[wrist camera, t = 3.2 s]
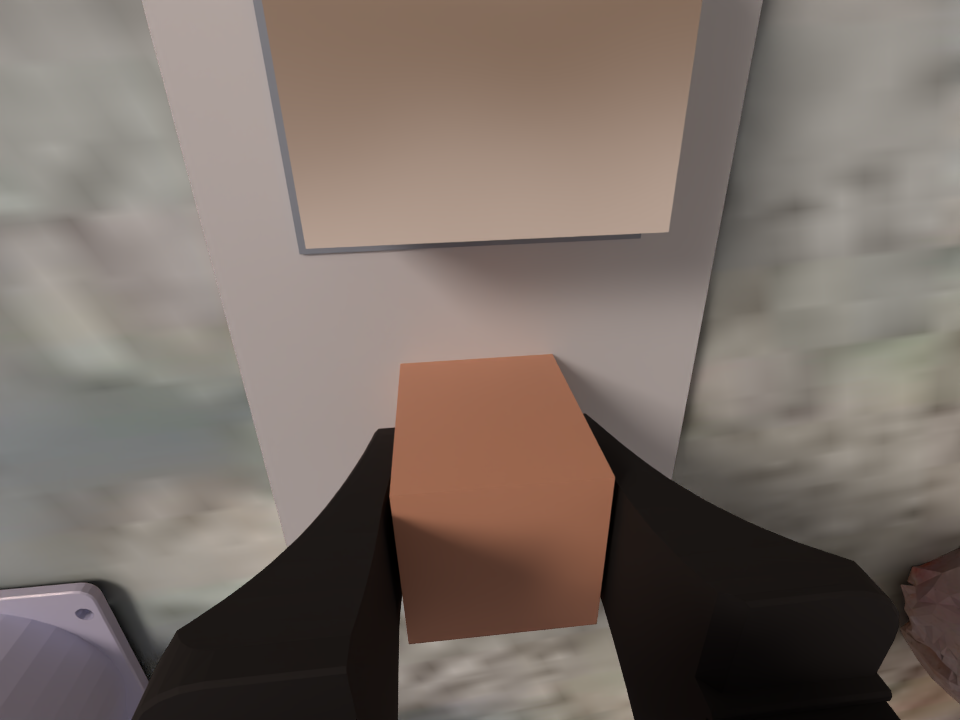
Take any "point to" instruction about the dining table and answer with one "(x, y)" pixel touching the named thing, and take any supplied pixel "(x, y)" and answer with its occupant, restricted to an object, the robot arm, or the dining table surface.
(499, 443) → the terracotta block
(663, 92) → the ivory base block
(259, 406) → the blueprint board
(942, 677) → the food item
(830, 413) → the dining table surface
